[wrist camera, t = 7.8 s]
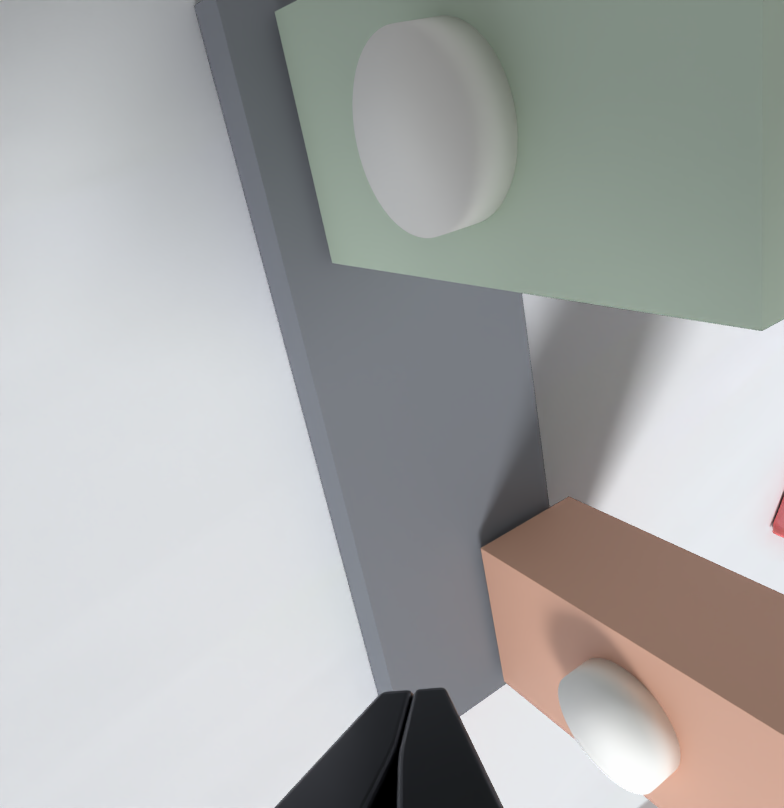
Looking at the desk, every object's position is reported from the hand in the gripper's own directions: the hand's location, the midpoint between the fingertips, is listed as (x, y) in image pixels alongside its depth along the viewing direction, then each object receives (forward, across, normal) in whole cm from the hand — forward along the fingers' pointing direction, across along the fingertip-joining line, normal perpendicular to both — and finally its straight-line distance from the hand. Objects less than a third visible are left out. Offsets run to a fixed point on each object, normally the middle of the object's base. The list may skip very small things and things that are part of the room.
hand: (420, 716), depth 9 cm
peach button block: (+12, +1, -7) cm, 14 cm away
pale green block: (+10, -1, +7) cm, 12 cm away
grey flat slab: (+12, -1, 0) cm, 12 cm away
